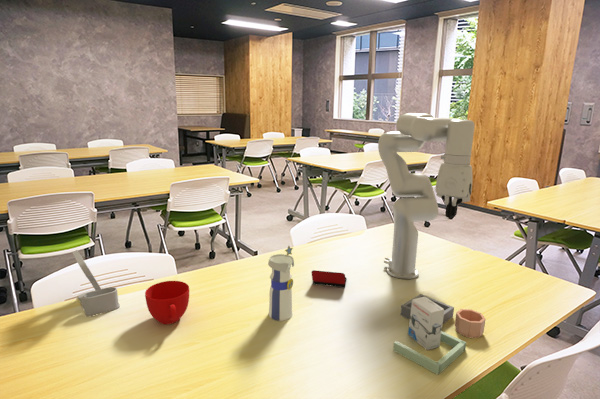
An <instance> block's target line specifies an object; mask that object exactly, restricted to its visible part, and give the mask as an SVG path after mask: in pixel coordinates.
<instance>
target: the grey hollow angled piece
mask: <svg viewBox="0 0 600 399" xmlns="http://www.w3.org/2000/svg"><path fill="white" fill-rule="evenodd" d="M71 253H72V254H73V257H74V258H75V260H76V263H77V264H78V266H79V268H80V269H81V270H82V273H83V274H84V276H85V277H86V279H87V280H88V281H89V283H90V284H91V286H92V287H93V289H94V290H92V291H87V292H83V293H81V294H78V295H77V296H78V301H79V303H80V304H81V307H82V309H83V312H84V311H85V312H84V313H85V316H86V317H88V316H91V317H94V316H93V315H95V316H97V315H96V314H98V315H101V314H100V313H102V314H104V312H105V313H108V312H107V311H109V312H111V310H112V311H115V309H116V310H118V309H120V306H121V305H120V303H119V296H118V295H119V294H118V289H117V287H115V286H110V287H104V288H102V287H101V286H100V284H99V283H98V281H97V279H96V278H95V275H94V274H93V273H92V271H91V270H90V268H89V266H88V265H87V264H86V262H85V260H84V258H83V256H82V255H81V253H80V251H78V249H76V250H74V251H72V252H71Z"/></svg>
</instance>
